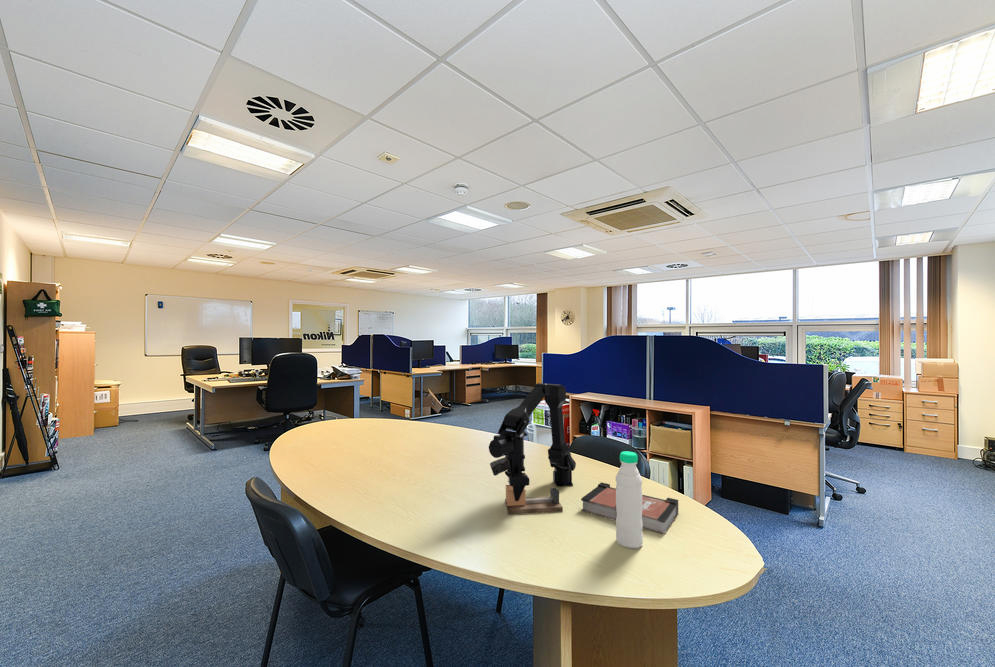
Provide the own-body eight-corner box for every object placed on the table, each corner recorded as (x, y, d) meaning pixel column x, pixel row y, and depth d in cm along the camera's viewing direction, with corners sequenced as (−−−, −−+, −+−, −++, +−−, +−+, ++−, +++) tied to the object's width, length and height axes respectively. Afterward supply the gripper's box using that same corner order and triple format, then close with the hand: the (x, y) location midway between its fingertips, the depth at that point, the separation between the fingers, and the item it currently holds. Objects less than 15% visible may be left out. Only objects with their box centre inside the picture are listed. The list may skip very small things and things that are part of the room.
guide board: (555, 500, 138) (555, 496, 138) (562, 511, 129) (562, 507, 129) (505, 503, 136) (505, 498, 136) (508, 514, 127) (508, 509, 127)
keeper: (523, 499, 135) (522, 484, 135) (525, 505, 130) (525, 489, 130) (505, 500, 134) (505, 484, 134) (507, 506, 129) (507, 490, 130)
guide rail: (556, 499, 136) (556, 487, 136) (559, 504, 132) (559, 492, 132) (507, 501, 134) (507, 489, 134) (509, 506, 130) (508, 494, 130)
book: (580, 513, 130) (580, 497, 130) (601, 496, 143) (601, 482, 143) (663, 537, 114) (663, 519, 114) (678, 515, 127) (678, 499, 128)
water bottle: (629, 552, 105) (628, 458, 105) (610, 540, 111) (610, 451, 111) (648, 545, 108) (647, 454, 108) (628, 534, 114) (628, 448, 115)
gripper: (489, 444, 141) (489, 488, 141) (494, 460, 122) (494, 510, 122) (519, 443, 142) (519, 486, 142) (529, 459, 124) (529, 509, 123)
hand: (515, 497), depth 132 cm, fingers closed on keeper, 5 cm apart
